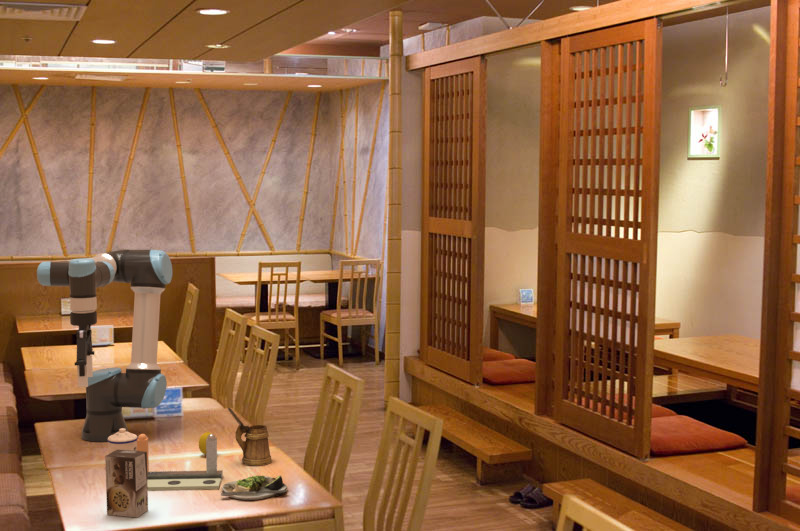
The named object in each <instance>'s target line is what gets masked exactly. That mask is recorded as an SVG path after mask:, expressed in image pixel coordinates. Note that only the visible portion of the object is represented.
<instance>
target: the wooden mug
mask: <svg viewBox="0 0 800 531" xmlns="http://www.w3.org/2000/svg"><path fill="white" fill-rule="evenodd" d="M227 410H228V412H229V413H230V414H231V416H232V417H233V419H234V420H235V421H236V422H237V424H238V426H237V427H236V431H235V439H236V440H235V441H236V443H237V444H238V446H239V447H240V448H241V450H242V455H243V456H242V458H241V459H242V460H241V462H242V464H244V465H247V466H250V467H251V466H252V467H260V466H265V465H266V466H267V465H269V464H271V463H272V460H273V459H272V456H271V451H270V445H269V431H268V430H267V426H266V425H263V424H254V425H250V426H249V425H247V424H246V425H245V424H244V423H243V421H242V419H241V418H239V417H238V415H237V414H236V413H235V412H234V411H233V409H232V408H230V407H228V408H227ZM243 434H244V438H245V440H243V439H242V435H243Z"/></svg>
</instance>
